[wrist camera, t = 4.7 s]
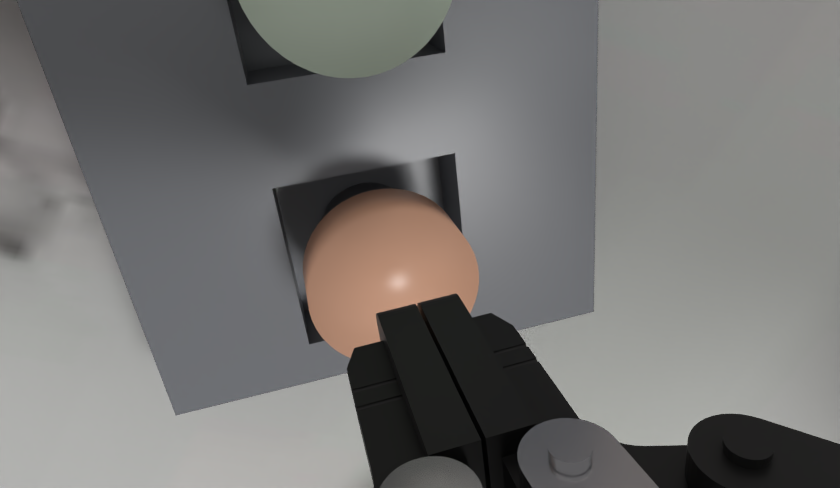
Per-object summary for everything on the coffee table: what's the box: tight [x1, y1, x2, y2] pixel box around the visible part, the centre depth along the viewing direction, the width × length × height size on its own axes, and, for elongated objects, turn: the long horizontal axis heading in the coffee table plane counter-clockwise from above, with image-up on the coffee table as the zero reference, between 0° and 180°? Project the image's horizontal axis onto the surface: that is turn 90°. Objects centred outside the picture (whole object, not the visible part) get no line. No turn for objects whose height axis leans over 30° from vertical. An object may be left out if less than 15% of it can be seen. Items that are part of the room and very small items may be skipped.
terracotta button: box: [303, 183, 479, 358], centre depth 18 cm, size 5×5×4 cm
